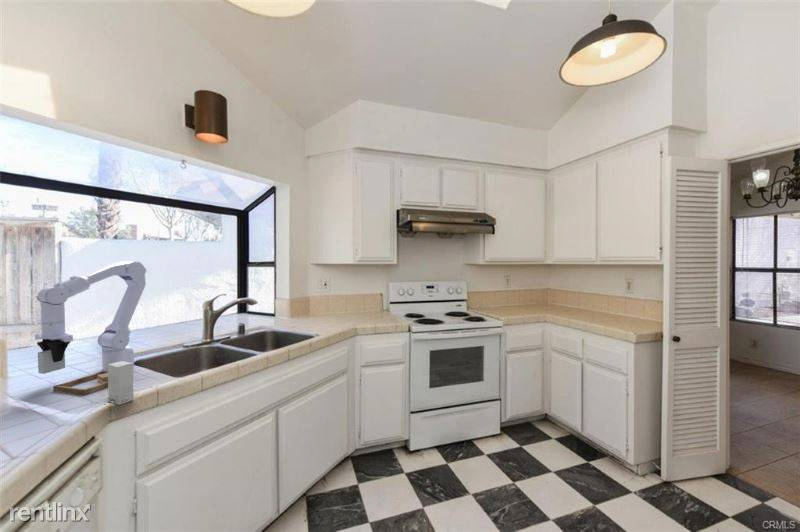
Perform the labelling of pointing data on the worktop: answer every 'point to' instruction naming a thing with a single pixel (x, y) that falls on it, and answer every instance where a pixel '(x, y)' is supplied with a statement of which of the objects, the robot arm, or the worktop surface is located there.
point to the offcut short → (103, 377)
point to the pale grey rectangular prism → (49, 362)
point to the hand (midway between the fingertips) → (54, 360)
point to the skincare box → (120, 382)
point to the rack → (67, 389)
